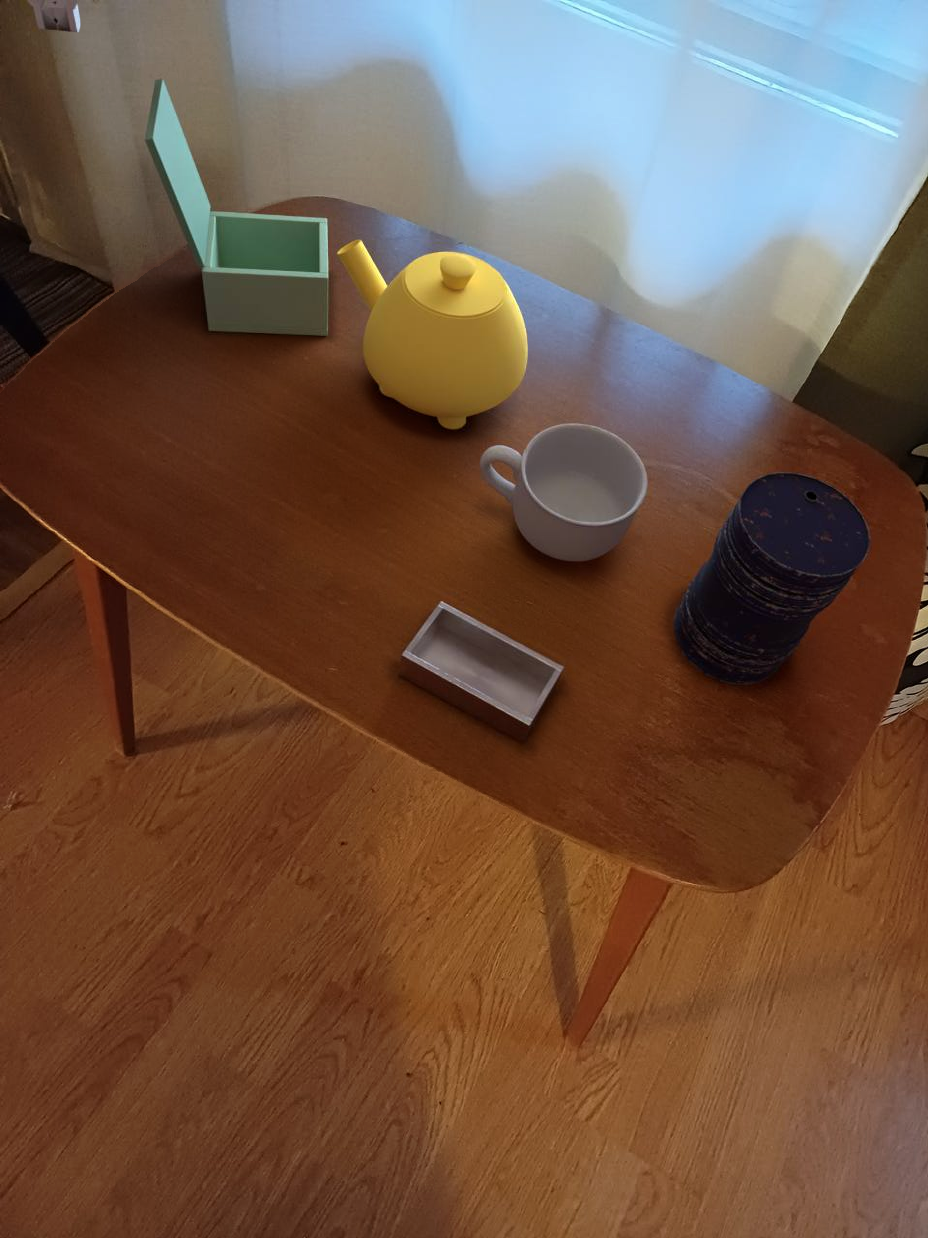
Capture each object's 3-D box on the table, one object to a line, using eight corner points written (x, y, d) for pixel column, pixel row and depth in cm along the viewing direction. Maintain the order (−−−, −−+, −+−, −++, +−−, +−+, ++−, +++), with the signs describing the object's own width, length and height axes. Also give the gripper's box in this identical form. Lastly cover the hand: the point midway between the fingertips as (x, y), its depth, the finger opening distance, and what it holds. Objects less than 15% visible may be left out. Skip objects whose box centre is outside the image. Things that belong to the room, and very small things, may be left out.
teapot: (292, 371, 90) (288, 245, 78) (383, 294, 98) (391, 170, 87) (466, 466, 86) (489, 348, 74) (546, 377, 94) (577, 259, 83)
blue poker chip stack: (772, 704, 75) (861, 598, 63) (658, 657, 76) (723, 543, 64) (794, 615, 81) (880, 501, 68) (688, 572, 82) (753, 452, 70)
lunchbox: (326, 276, 98) (326, 217, 93) (327, 336, 93) (328, 277, 88) (214, 270, 97) (207, 210, 91) (208, 331, 91) (201, 271, 86)
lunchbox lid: (162, 77, 80) (155, 79, 80) (152, 138, 75) (144, 139, 75) (210, 205, 91) (203, 207, 91) (204, 266, 85) (197, 268, 85)
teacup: (638, 515, 85) (665, 453, 78) (599, 599, 79) (624, 540, 72) (501, 456, 87) (516, 391, 80) (452, 533, 81) (464, 470, 74)
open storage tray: (398, 674, 72) (401, 654, 70) (436, 621, 75) (440, 600, 73) (522, 744, 70) (529, 725, 68) (556, 686, 73) (564, 667, 71)
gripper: (-176, -206, 57) (-94, 34, 69) (166, -164, 61) (190, 59, 72) (-149, -239, 61) (-75, -5, 72) (174, -197, 64) (196, 20, 75)
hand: (60, 27), depth 72 cm, fingers closed
